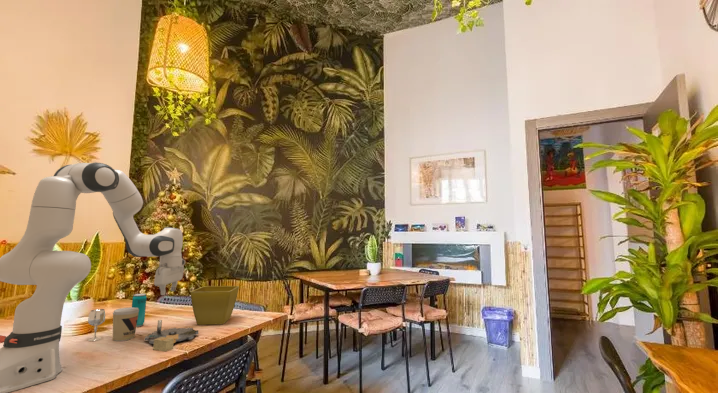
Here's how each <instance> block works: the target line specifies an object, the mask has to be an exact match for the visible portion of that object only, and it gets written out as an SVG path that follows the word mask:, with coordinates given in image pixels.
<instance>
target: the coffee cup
mask: <svg viewBox="0 0 718 393" xmlns="http://www.w3.org/2000/svg"><path fill="white" fill-rule="evenodd" d="M138 312H139V309H138V308H135V307H132V306H131V307H123V308H121V307H120V308H118V309H115V310H113V312H112V315H113V316H112V341H114V342H123V341H124V342H125V341H128V340H132V339H134V338H135V335H136V331H137V327H136V325H137V319H138Z"/></svg>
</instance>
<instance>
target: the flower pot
mask: <svg viewBox="0 0 718 393" xmlns="http://www.w3.org/2000/svg"><path fill="white" fill-rule="evenodd" d="M239 288H240V287H239V285H206V286H205V285H203V286H202V287H198V288H196V289H194V290H191V291H190V300H191V306H192V311H193V315H194V318H195V322H196V324H197V326H198V325H200V326H201V325H204V326H205V325H207V326H208V325H223V324H225V323H227V321H229V320H230V318H231V316H232V314H233V311H234V308H235V305H236V302H237V298H238V294H239V290H240V289H239Z"/></svg>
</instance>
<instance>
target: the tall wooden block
mask: <svg viewBox="0 0 718 393" xmlns="http://www.w3.org/2000/svg"><path fill="white" fill-rule="evenodd" d="M173 341H174V338H167V337H160V338H157V339H154V344H153V349H152V350H153V351H159V352H167V351H170V350H173V349H174V343H173Z"/></svg>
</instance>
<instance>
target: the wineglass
mask: <svg viewBox="0 0 718 393" xmlns="http://www.w3.org/2000/svg"><path fill="white" fill-rule="evenodd" d="M105 321H106V311H105V309H104V308H95V309H92V310H90V311H89V314H88V317H87V323H88V325H91V326H93V327H94V328H93V330H94V335H93V337H92V338H89V339H87V341H88V342H96V341H100V340H101V339H102V337H97V330H98V326H100V325H102V324H103V323H105Z"/></svg>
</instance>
